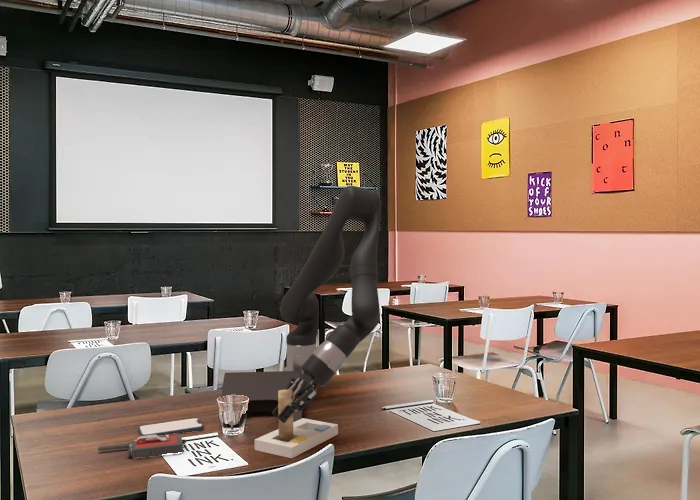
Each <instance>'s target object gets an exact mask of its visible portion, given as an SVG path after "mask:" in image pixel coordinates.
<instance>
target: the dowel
mask: <svg viewBox="0 0 700 500" xmlns="http://www.w3.org/2000/svg"><path fill="white" fill-rule="evenodd" d="M292 395H293V391H292V390H280V391H278V415H279V414H280V413H281V412H282V410H283V409H284V408H285V407H286V406H287V405H288V404H289V402H290V401H291V399H292V398H293V396H292ZM288 406H289V405H288ZM278 429H279V440H280V441H284V442H289V441H290V440H292V439H293V414H292V415H291V416H290V417H289V418H288V420H287V421H286V422H285V423H283V422H281V421H280V420H279V419H278Z"/></svg>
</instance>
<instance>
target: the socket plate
mask: <svg viewBox="0 0 700 500" xmlns="http://www.w3.org/2000/svg"><path fill="white" fill-rule="evenodd" d="M338 435H339V424H336V423H332V422H325V421H321V420H314V419H309V418H303V417H301V419H300V420H298V421H295V422H293V439H292V440H290V441H289V442H284V441H280V440H279V428H278V429H275V430H273V431H271V432H268V433H265V434H264V435H261V436H260V437H258V438H255V439H254V450H255V451H257V452H262V453H267V454H271V455H275V456H278V457H285V458H287V459H288V458H289V459H294V458H296V457H297V456H299V455H301V454H303V453H306V452H307V451H309V450H311V449H312V448H315V447H316V446H319V445H320V444H322V443H324V442H327V441H329V440H330V439H331V438H334V437H335V436H338Z"/></svg>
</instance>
